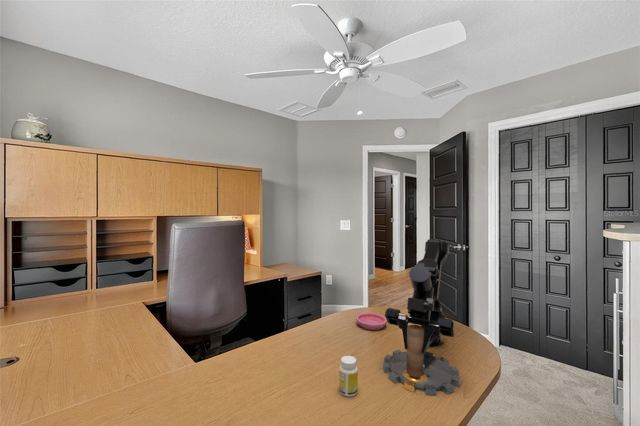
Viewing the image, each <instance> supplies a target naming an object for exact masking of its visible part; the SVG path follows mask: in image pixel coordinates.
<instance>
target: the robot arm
mask: <svg viewBox="0 0 640 426" xmlns="http://www.w3.org/2000/svg"><path fill="white" fill-rule="evenodd" d="M424 244H425V245H424V246H425V247H424V255H423V258H422V259H421V260H418V261H417V263H416V265H415V266H413V267H412V268H410V270H409V271H408V275H409V279H410V283H411V286H412V289H413V291H412V292H413V294H412V296H411V297H408V298H407V306H406V309H407V313H408V314H409V315H407V314H404V313H402V312H401V310H400V309H398V308H397V309H396V308H392V307H388V308H386V310H385V312H384V317H385V318H386V320H387V324H389V325H392V326H397V327H398V328H399V329H400V330H401V331H402V338H403V347H404V349H405V350H406V351H407V326H409V324H411V325H418V326H421V327H423V328H424V344H423V349H422V353H423V354H424V353H425V352H427V350H428V349H429V347H437V346H439V345H442V344H444V341H443V340H441V335H442V336H445V337H449V338H454V337H455V322H454V320H453V319H451V318H446V316H445V314H444V311H443V309H442V305H441V303H440V301H439V295H440V285H441V277H442V265H444V263H446V261H447V259H448V258H447V257H448V255H449V254H450V245H449V243H448V242H444V241H443V240H441V239H437V238H428V239H427V241H425V243H424Z"/></svg>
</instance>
